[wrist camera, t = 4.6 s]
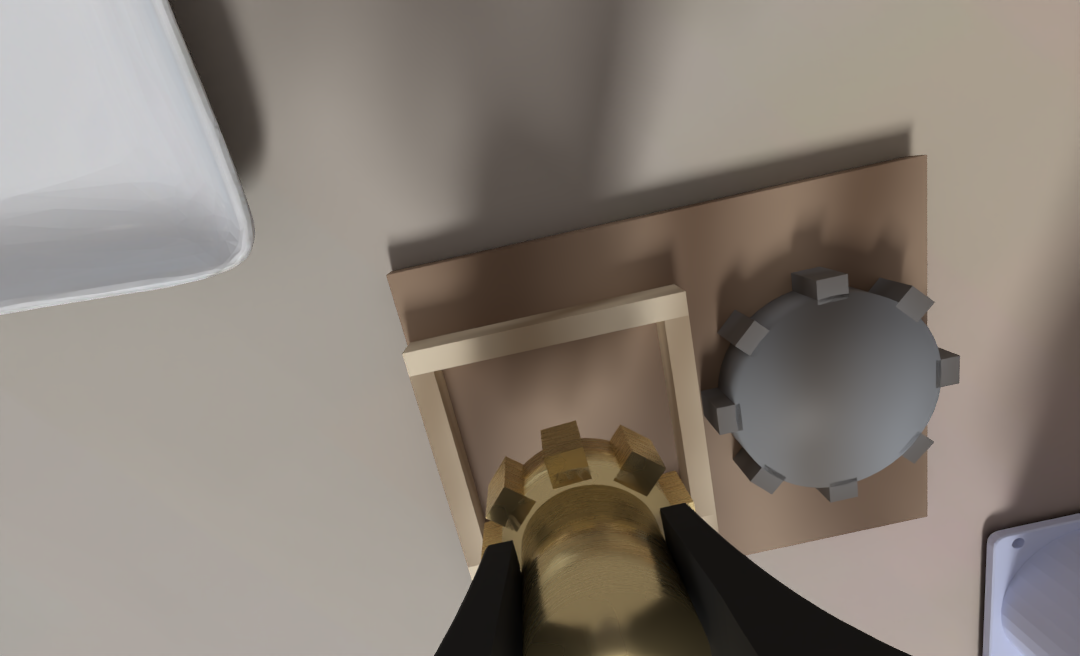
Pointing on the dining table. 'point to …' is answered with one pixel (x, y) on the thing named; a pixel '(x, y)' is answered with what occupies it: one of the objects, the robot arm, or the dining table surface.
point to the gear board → (700, 354)
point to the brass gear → (594, 547)
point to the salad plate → (108, 156)
